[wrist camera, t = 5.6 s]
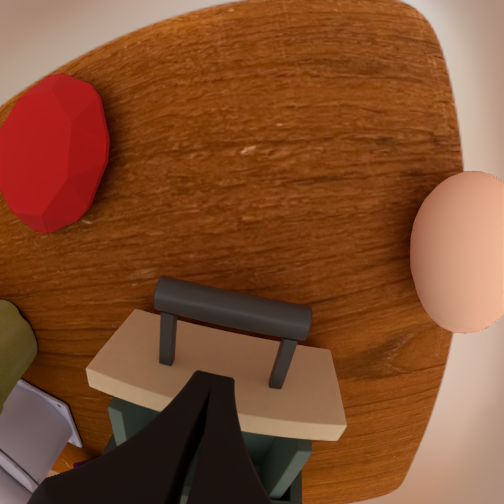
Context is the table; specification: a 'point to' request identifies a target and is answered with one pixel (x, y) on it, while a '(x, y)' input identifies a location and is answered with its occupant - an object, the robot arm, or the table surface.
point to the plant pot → (14, 348)
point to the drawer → (226, 373)
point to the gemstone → (53, 152)
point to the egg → (461, 252)
